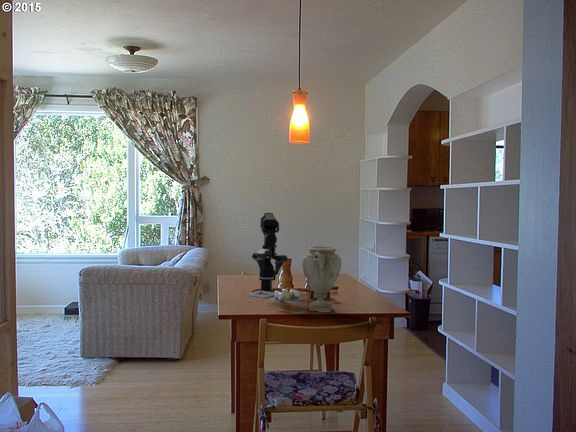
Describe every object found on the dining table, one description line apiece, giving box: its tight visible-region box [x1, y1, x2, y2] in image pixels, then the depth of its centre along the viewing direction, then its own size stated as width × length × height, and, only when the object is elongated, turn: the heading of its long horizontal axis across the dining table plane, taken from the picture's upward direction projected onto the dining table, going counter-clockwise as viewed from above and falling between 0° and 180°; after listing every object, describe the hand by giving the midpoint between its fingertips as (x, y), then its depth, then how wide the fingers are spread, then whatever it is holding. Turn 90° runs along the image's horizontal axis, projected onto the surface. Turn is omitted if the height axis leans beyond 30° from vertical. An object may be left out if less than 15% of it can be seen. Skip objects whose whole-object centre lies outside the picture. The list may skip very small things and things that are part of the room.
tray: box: [248, 290, 275, 299], centre depth 294 cm, size 10×10×2 cm
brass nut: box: [281, 290, 293, 300], centre depth 286 cm, size 6×5×4 cm
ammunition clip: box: [309, 288, 331, 300], centre depth 291 cm, size 11×2×12 cm, turn 103°
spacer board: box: [267, 297, 305, 304], centre depth 286 cm, size 14×14×1 cm
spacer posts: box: [273, 288, 300, 302], centre depth 286 cm, size 14×10×4 cm
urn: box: [302, 246, 342, 312], centre depth 266 cm, size 24×18×30 cm
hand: (269, 273), depth 286 cm, fingers open, 9 cm apart
